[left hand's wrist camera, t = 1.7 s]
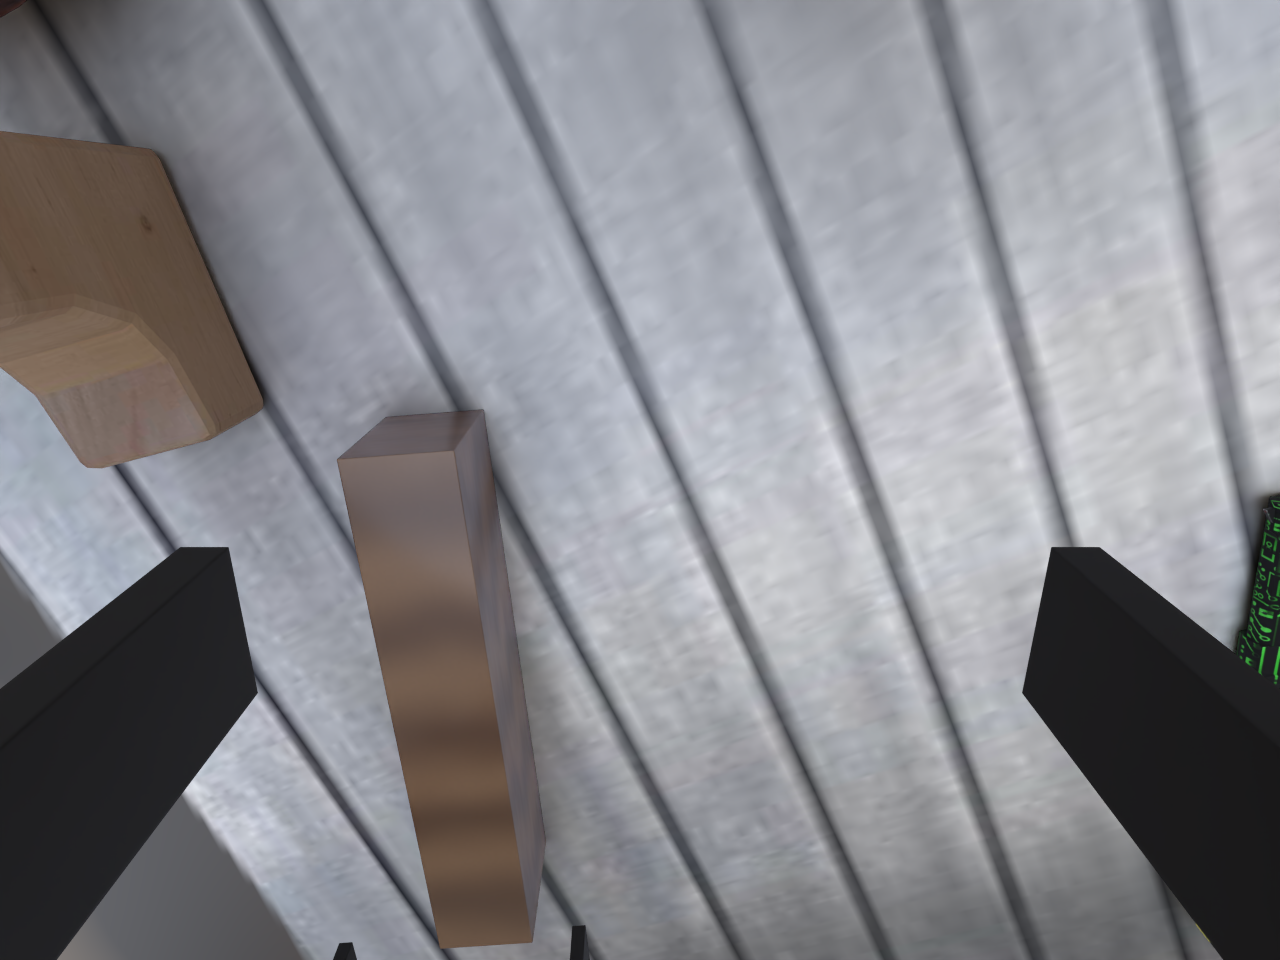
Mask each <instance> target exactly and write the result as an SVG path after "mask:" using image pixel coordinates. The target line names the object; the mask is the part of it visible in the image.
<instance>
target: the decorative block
mask: <svg viewBox="0 0 1280 960" xmlns="http://www.w3.org/2000/svg"><path fill="white" fill-rule="evenodd" d="M0 367H1V368H2V369H3V370H4V371H6V372H7V373H8V374H9V375H11V376H12V377H13V378H14V379H16V380H17V381H18V382H19V383H21V384H22V385H23V386H24V387H26V388H27V389H28V390H29V391H30V392H32V393H33V394H34V395H35V396H36V397H37V399H38V400H39V402H40V403H41V405H42V406H43V407H44V409H45V410H46V412H47V413H48V415H49V416H50V418H51V419H52V421H53V422H54V424H55V425H56V427H57V428H58V430H59V431H60V433H61V434H62V436H63V437H64V439H65V440H66V442H67V443H68V445H69V446H70V448H71V449H72V451H73V452H74V454H75V455H76V456H77V458H78V459H79V461H80V462H81V463H82V464H83V465H85V466H86V467H87V468H105V467H109V466H112V465H116V464H120V463H124V462H128V461H131V460H135V459H139V458H143V457H146V456H150V455H154V454H158V453H162V452H165V451H169V450H173V449H177V448H180V447H184V446H188V445H192V444H196V443H199V442H203V441H207V440H210V439H212V438H214V437H215V436H217V435H219V434H221V433H223V432H224V431H226V430H228V429H230V428H232V427H233V426H235V425H237V424H239V423H241V422H242V421H244V420H246V419H248V418H249V417H251V416H253V415H255V414H256V413H258V412H259V411H260V410H261V409H262V408H263V398H262V396H261V394H260V391H259V389H258V387H257V384H256V382H255V380H254V377H253V375H252V373H251V370H250V368H249V366H248V363H247V361H246V359H245V356H244V354H243V352H242V350H241V347H240V345H239V343H238V340H237V338H236V336H235V333H234V331H233V329H232V326H231V324H230V322H229V319H228V317H227V315H226V312H225V310H224V308H223V305H222V303H221V301H220V298H219V296H218V294H217V291H216V289H215V287H214V284H213V282H212V280H211V277H210V275H209V273H208V270H207V268H206V266H205V263H204V261H203V259H202V256H201V254H200V252H199V249H198V247H197V245H196V242H195V240H194V238H193V235H192V233H191V231H190V228H189V226H188V224H187V222H186V219H185V217H184V215H183V212H182V210H181V208H180V205H179V203H178V201H177V198H176V196H175V194H174V191H173V189H172V187H171V184H170V182H169V180H168V177H167V175H166V173H165V170H164V168H163V166H162V163H161V161H160V159H159V158H158V156H157V155H156V154H155V153H154V151H152V150H151V149H146V148H139V147H130V146H122V145H113V144H105V143H96V142H88V141H79V140H71V139H62V138H54V137H45V136H37V135H29V134H20V133H12V132H4V131H0Z"/></svg>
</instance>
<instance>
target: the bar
mask: <svg viewBox="0 0 1280 960" xmlns="http://www.w3.org/2000/svg"><path fill="white" fill-rule="evenodd" d="M337 462H338V467H339V472H340V476H341V481H342V486H343V491H344V495H345V500H346V505H347V509H348V514H349V519H350V524H351V528H352V533H353V538H354V543H355V547H356V552H357V557H358V562H359V566H360V571H361V576H362V580H363V585H364V590H365V595H366V599H367V604H368V609H369V614H370V618H371V623H372V628H373V633H374V637H375V642H376V647H377V651H378V656H379V661H380V666H381V670H382V675H383V680H384V685H385V689H386V694H387V699H388V704H389V708H390V713H391V718H392V722H393V727H394V732H395V737H396V741H397V746H398V751H399V756H400V760H401V765H402V770H403V774H404V779H405V784H406V789H407V793H408V798H409V803H410V808H411V812H412V817H413V822H414V827H415V831H416V836H417V841H418V845H419V850H420V855H421V860H422V864H423V869H424V874H425V879H426V883H427V888H428V893H429V898H430V902H431V907H432V912H433V916H434V921H435V926H436V931H437V935H438V940H439V945H440V948H441V949H442V948H457V947H472V946H487V945H502V944H517V943H532V942H533V935H534V928H535V920H536V913H537V905H538V898H539V890H540V883H541V875H542V868H543V860H544V853H545V845H546V840H545V833H544V826H543V819H542V812H541V805H540V798H539V791H538V784H537V777H536V770H535V763H534V756H533V749H532V742H531V735H530V729H529V722H528V715H527V708H526V701H525V694H524V687H523V680H522V673H521V666H520V659H519V652H518V645H517V638H516V631H515V624H514V617H513V611H512V604H511V597H510V590H509V583H508V576H507V569H506V562H505V555H504V548H503V541H502V534H501V527H500V520H499V513H498V506H497V500H496V493H495V486H494V479H493V472H492V465H491V458H490V451H489V444H488V437H487V430H486V423H485V416H484V410H473V411H460V412H447V413H434V414H420V415H407V416H394V417H386V418H384V419H383V420H382V421H381V422H380V423H379V424H377V425H376V426H375V427H374V428H373V429H372V430H370V431H369V432H368V433H367V434H366V435H365V436H364V437H362V438H361V439H360V440H359V441H358V442H357V443H355V444H354V445H353V446H352V447H351V448H350V449H348V450H347V451H346V452H345V453H344V454H343V455H341V456H340V457H339V458H338V459H337Z"/></svg>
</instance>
